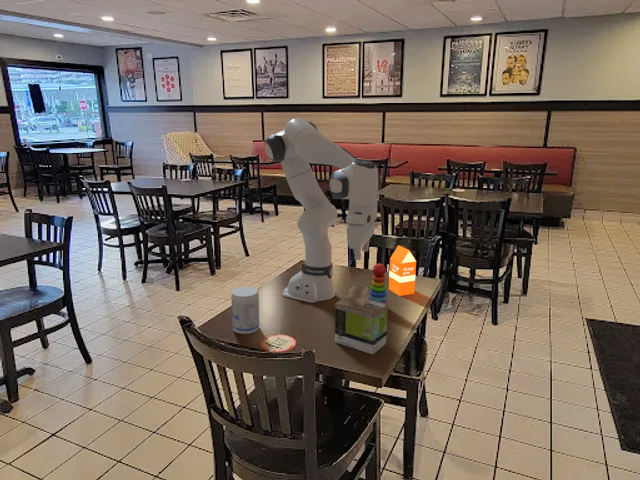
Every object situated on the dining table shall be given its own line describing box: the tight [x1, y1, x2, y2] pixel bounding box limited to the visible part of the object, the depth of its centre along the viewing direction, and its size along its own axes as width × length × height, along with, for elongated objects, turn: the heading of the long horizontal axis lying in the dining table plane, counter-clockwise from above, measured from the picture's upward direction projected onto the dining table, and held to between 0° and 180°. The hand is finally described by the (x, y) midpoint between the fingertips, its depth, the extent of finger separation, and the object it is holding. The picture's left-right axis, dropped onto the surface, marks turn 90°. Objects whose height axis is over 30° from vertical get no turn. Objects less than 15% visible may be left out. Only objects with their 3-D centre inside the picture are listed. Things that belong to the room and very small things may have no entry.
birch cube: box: [348, 285, 369, 307], centre depth 150 cm, size 5×5×5 cm
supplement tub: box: [230, 286, 260, 335], centre depth 163 cm, size 10×10×15 cm
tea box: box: [334, 295, 388, 356], centre depth 153 cm, size 15×10×15 cm
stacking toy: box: [368, 263, 388, 309], centre depth 179 cm, size 8×8×19 cm
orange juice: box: [388, 244, 417, 297], centre depth 197 cm, size 8×9×20 cm
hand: (361, 255), depth 147 cm, fingers open, 8 cm apart
